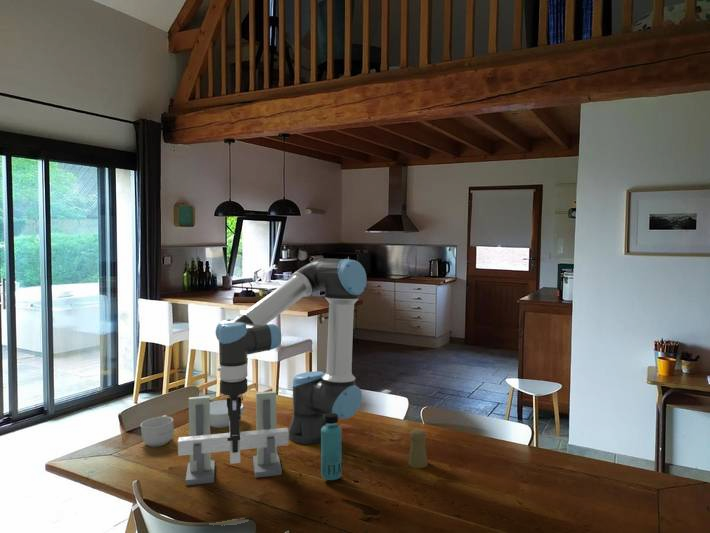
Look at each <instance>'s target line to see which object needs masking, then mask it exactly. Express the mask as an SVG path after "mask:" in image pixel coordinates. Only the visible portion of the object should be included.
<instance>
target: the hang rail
mask: <svg viewBox="0 0 710 533" xmlns="http://www.w3.org/2000/svg"><path fill="white" fill-rule="evenodd" d="M233 436H236V435H233ZM227 438H230V433H229V432H224V433H213V434H211V433H210V435H200V436H179V437H178V440H177V454H178V457H182V456H190V455H193V446H197V445H201V454H203V453H220V452H230V441H227ZM271 438H275V446H277V447H281V446H283V447H285V446H289V428H288V427H281V428H278V427H276V429H266V430H257V429H256V430H245V431H240V451H243V450H251V449H257V448H264V447H267V439H271Z"/></svg>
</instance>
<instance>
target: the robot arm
mask: <svg viewBox="0 0 710 533" xmlns="http://www.w3.org/2000/svg"><path fill="white" fill-rule="evenodd" d="M366 287H367V273H366V270H365V268H364V266H363V265H362V263H360V262H359V261H357V260H355V259H349V258H348V259H347V258H344V259H343V258H326V257H325V258H324V257H322V258H319V259H315V260H313V261H311V262H309V263H307V264H305V265H304V266H302V267H300V268H299V269H298V270H296V271H295V272H294V273H292V274H290V278H289V279H288V280H287V281H285V282H284V283H282V284H281V285H279V286H278V287H277V288H275V289H274V290H273V291H271V292H269V294H267V295H266V296H264V297H263V298H261V299H260V300H259V301H257V302H256V303H254V304H253V305H251V306H250V307H249V308H247V309H246V310H245V311H243V312H242V313H240V314H239V315H237V316H236V317H235V318H232V319H223V320H221V321H220V322H219V323H218V324H217V326H216V329H215V337H216V338H217V340H218V352H219V367H217V368H216V369H217V371H218V372H219V378H220V380H219V392H220V394H221V395H224V396H229V397H226V400H227V407H228V416H229V420H230V421H229V426H228V427H229V428H228V429H229V432H228V433H230V438H227V441H230V451H229V464H230V465H232V464H239V463H240V464H241V450H240V432H241V431H240V429H241V428H240V426H241V425H240V421H241V419H242V417H241V416H240V415H241V403H242V397H241V396H240V395H243V394H245V393H247V392H248V378H247V377H248V355H252V354H256V353H261V352H262V353H263V352H267V351H271V350H275V349H276V348H279V346H280V345H281V343H282V332H281V329H280V328H279V327H278V326H277V325H276V324H273V323H270V322H271V321H272V320H274V319H276V318H277V317H278V316H279V315H281V314H282V313H284V312H285V311H286V310H288V309H289V308H290V307H291V306H293V305H294V304H295V303H296V302H298V301H300V300H301V299H302V298H303V297H304V298H305V297H309V296H311V295H312V294H314V293H317V292H324V299H325V300H326V301H327V302H328V304H329V305H328V321H327V322H328V323H327V324H328V325H327V346H326V347H327V348H326V349H327V350H326V372H324V371H307V372H306V371H305V372H302V373H299V374H296V375H295V376H294V377H293V378H292V379H293V380H292V410H293V411H292V412H293V413H292V419H291V422H290V424H289V428H288V440H290V441H291V442H294V443H297V444H300V445H301V444H302V445H312V444H313V445H314V444H321V428H322V427H323V426H324V425H326V424H328V423H325V422H324V418H325V414H327V413H336V414H337V415H338V419H341V420H347V419H350V418H352V417H353V416H354V415H355V414H356V413H357V411H358V410H359V408H360V406H361V404H362V399H363V397H362V391H361V388H360V387H359V386H357V385H356V377H355V376H354V375H353V373H352V363H353V338H354V316H355V315H354V313H355V311H354V310H355V304H356V303H357V301H358V300H359V299H360V295H361V294H362V293H363V292H364V291H365V288H366ZM269 323H270V324H269ZM233 435H236V436H233Z"/></svg>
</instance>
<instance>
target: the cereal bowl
mask: <svg viewBox="0 0 710 533" xmlns="http://www.w3.org/2000/svg"><path fill="white" fill-rule="evenodd" d="M243 414H244V404H243V403H242V402H241V415H240V416H241V418H242V417H243ZM229 421H230V420H229V416H228V407H227V399H223V400H221V399H220V400H214V401H210V427H211V428H216V429H223V428H228V427H229ZM227 426H228V427H227Z"/></svg>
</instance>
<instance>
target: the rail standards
mask: <svg viewBox="0 0 710 533" xmlns="http://www.w3.org/2000/svg"><path fill="white" fill-rule="evenodd" d="M255 396H256V397H255V400H256V404H255V406H256V407H255V408H256V430H266V429H277V391H276V390H274V391H272V390H270V391H260V392H255ZM210 400H211V399H210V395H205V396H193V397H191V396H190V397H189V396H188V425H189V426H188V429H189V430H188V432H189V434H188V435H189V436H200V435H211V426H210V402H211V401H210ZM189 436H188V437H189ZM277 448H278V446H275V438H271V439H267V447H264V448H256V455H253V456H252V462H253V470H254V477H255V478H254V479H256V478H265V477H275V476H281V475H283V469H282V465H281V461H280V457H279V454H278V450H277ZM211 459H212V456H211V453H203V454H201V445H197V446H193V455H189V462H187V468H186V474H185V486H193V485H201V484H212V483H213V484H214V482H215V468H216V466H215V460H214V459H212V460H211Z"/></svg>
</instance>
